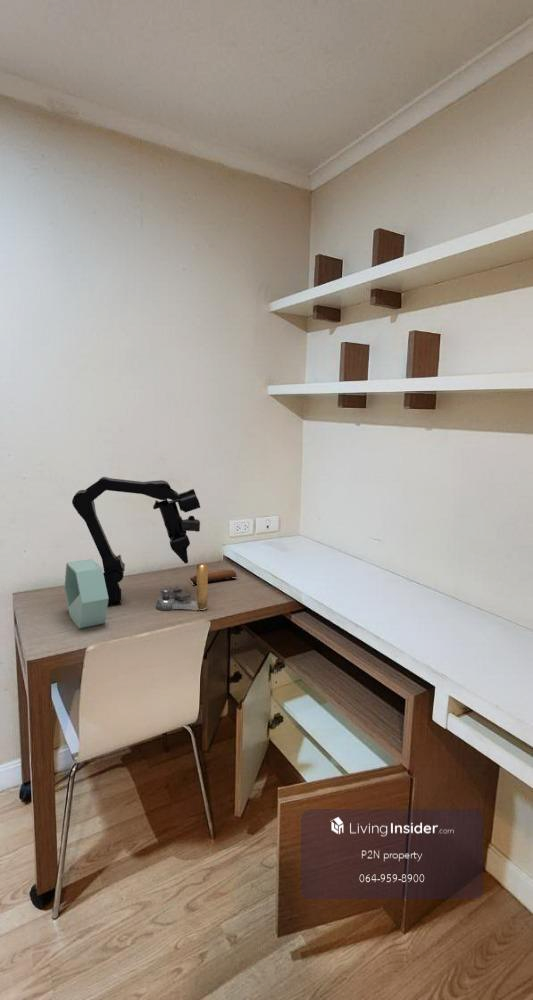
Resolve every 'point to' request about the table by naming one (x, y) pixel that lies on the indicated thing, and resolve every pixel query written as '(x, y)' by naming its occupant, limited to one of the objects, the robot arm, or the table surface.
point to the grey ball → (166, 593)
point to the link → (201, 593)
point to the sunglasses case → (216, 575)
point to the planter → (86, 593)
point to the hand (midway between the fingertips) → (185, 559)
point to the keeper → (180, 594)
